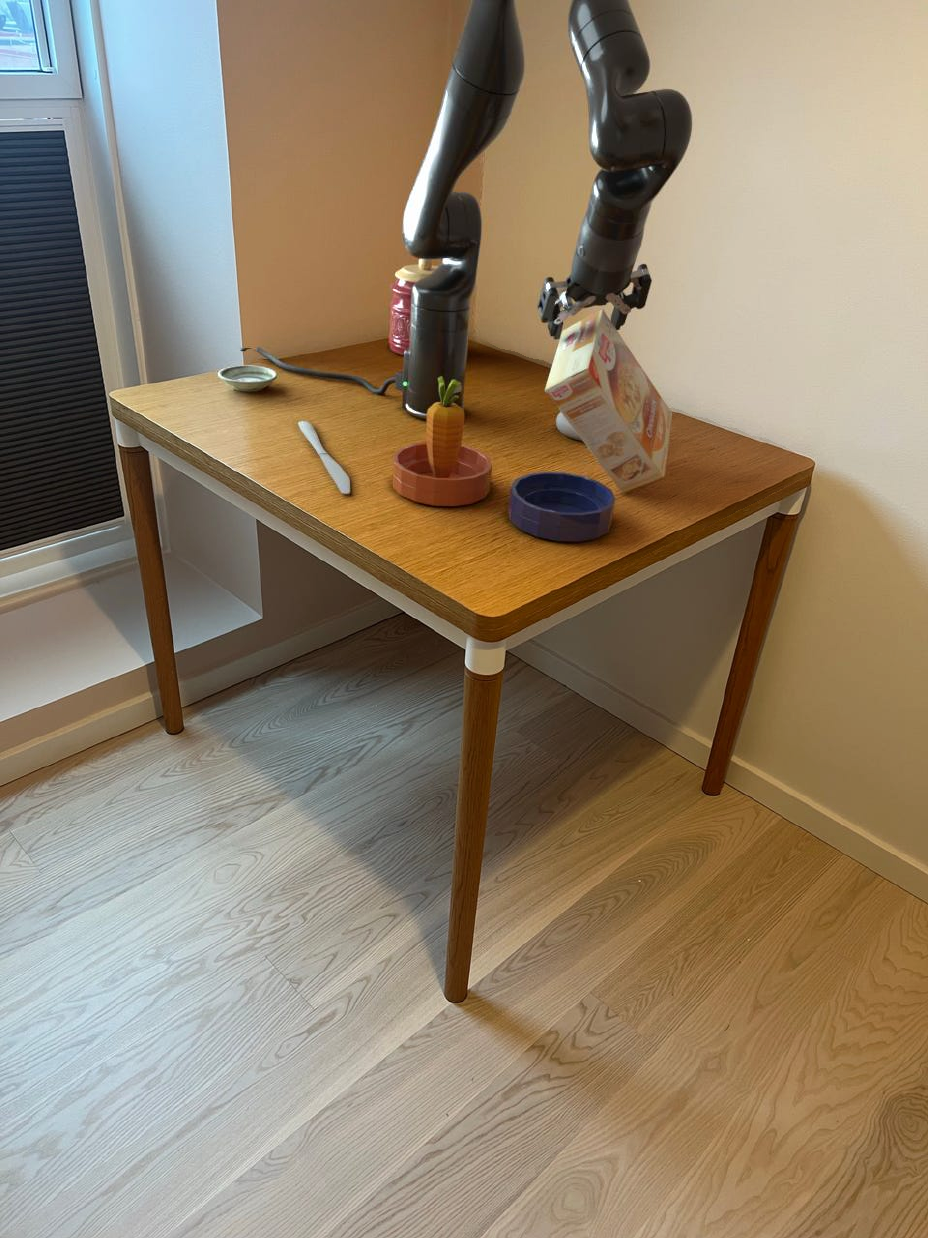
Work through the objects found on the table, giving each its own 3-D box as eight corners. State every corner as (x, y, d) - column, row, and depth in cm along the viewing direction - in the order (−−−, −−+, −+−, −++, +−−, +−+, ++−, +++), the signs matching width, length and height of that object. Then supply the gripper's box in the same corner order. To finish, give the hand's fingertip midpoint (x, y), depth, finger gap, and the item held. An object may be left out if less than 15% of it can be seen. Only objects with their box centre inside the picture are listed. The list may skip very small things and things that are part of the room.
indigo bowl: (487, 518, 118) (490, 489, 116) (547, 490, 127) (551, 463, 125) (571, 554, 111) (576, 524, 109) (628, 522, 120) (634, 494, 118)
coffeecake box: (665, 476, 124) (588, 367, 114) (620, 495, 128) (541, 391, 118) (674, 411, 133) (603, 305, 123) (632, 430, 137) (560, 329, 128)
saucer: (289, 387, 156) (289, 373, 155) (249, 400, 149) (248, 385, 148) (247, 374, 160) (246, 360, 159) (206, 386, 153) (205, 372, 152)
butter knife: (315, 419, 142) (296, 419, 141) (359, 492, 121) (337, 493, 120) (315, 423, 142) (296, 423, 141) (358, 496, 121) (336, 497, 120)
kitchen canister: (381, 354, 176) (383, 258, 167) (396, 337, 187) (399, 246, 178) (447, 362, 175) (453, 266, 166) (459, 345, 186) (465, 253, 177)
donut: (551, 440, 144) (614, 448, 142) (553, 419, 142) (617, 427, 141) (558, 420, 152) (618, 427, 151) (560, 399, 150) (621, 407, 149)
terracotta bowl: (372, 485, 124) (373, 457, 122) (437, 461, 133) (438, 434, 131) (445, 517, 117) (447, 488, 115) (508, 489, 126) (511, 462, 124)
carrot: (422, 477, 127) (427, 370, 119) (457, 478, 127) (465, 372, 119) (423, 492, 122) (429, 382, 115) (460, 493, 123) (469, 383, 115)
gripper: (655, 213, 113) (626, 300, 128) (544, 228, 111) (528, 314, 126) (672, 261, 110) (641, 344, 126) (559, 277, 109) (541, 359, 124)
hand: (584, 329), depth 126 cm, fingers open, 8 cm apart
